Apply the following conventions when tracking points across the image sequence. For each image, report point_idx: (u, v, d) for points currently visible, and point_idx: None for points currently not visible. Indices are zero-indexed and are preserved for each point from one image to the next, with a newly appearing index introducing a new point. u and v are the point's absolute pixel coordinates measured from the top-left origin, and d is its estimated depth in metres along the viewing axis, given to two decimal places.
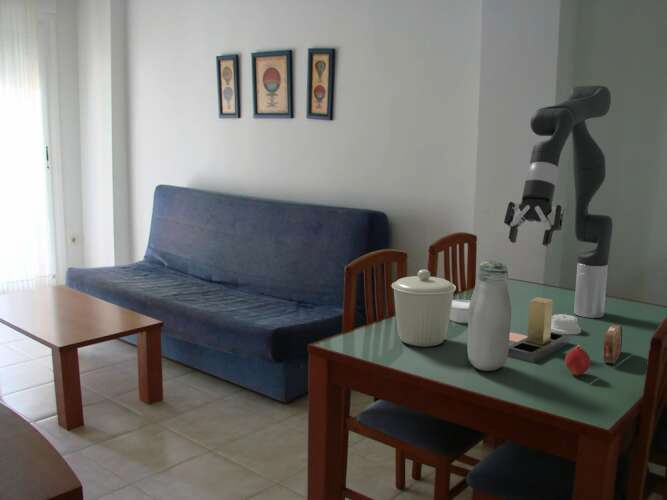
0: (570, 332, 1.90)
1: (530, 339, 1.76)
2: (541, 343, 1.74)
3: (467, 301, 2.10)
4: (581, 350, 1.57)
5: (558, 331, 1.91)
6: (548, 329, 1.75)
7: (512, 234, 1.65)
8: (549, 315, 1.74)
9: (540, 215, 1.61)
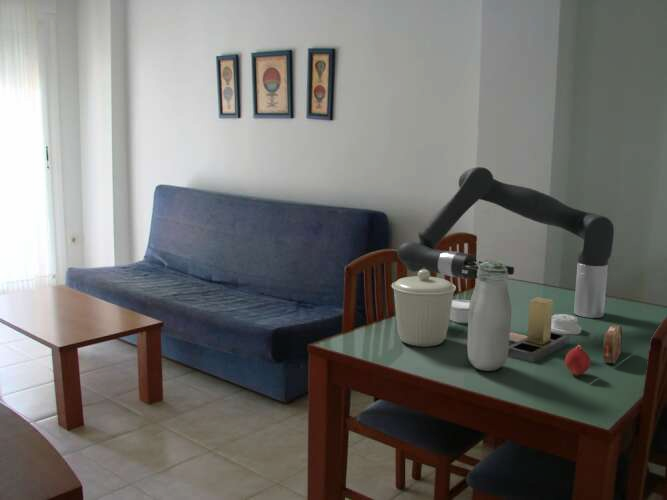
0: (570, 332, 1.91)
1: (530, 339, 1.76)
2: (541, 343, 1.74)
3: (467, 301, 2.10)
4: (581, 350, 1.57)
5: (558, 331, 1.91)
6: (548, 329, 1.75)
7: None
8: (549, 315, 1.74)
9: None
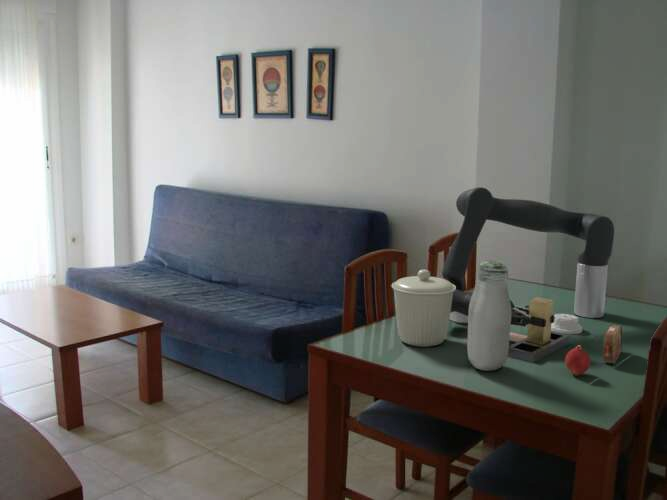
0: (571, 331, 1.91)
1: (530, 339, 1.76)
2: (541, 343, 1.74)
3: None
4: (581, 350, 1.57)
5: (559, 330, 1.92)
6: (548, 329, 1.75)
7: None
8: (549, 315, 1.74)
9: None
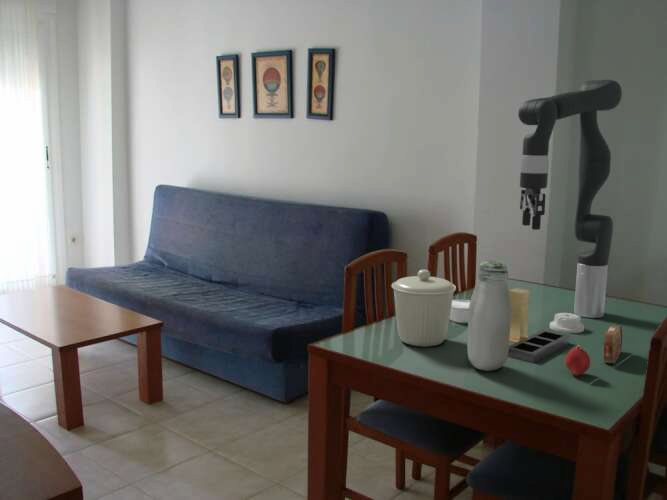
0: (573, 330, 1.92)
1: None
2: (518, 331, 1.84)
3: (466, 301, 2.10)
4: (581, 350, 1.57)
5: (562, 329, 1.93)
6: (525, 318, 1.85)
7: (522, 219, 1.90)
8: (526, 305, 1.84)
9: (529, 203, 1.83)
